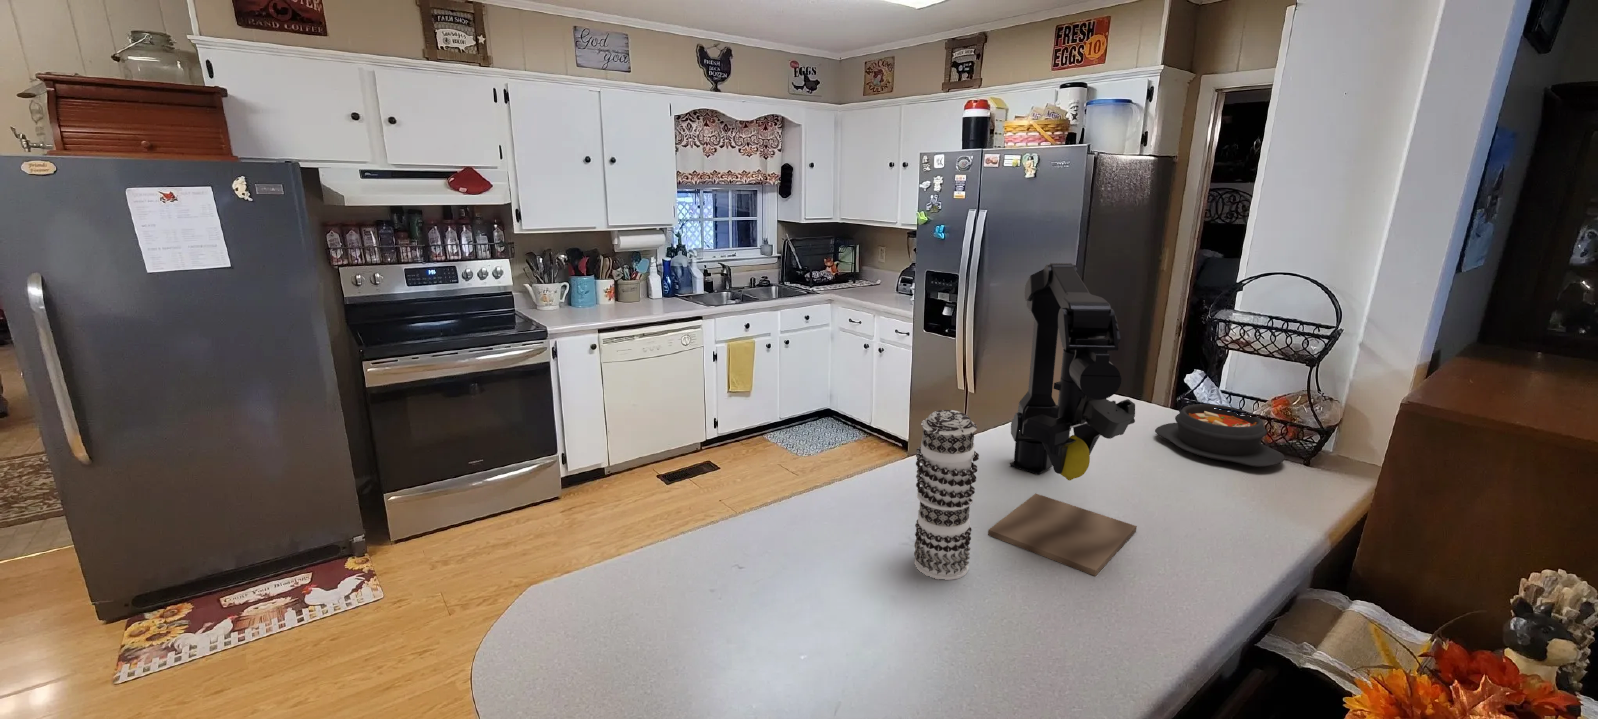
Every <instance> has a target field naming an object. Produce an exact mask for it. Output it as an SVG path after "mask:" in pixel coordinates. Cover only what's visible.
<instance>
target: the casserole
mask: <svg viewBox="0 0 1598 719" xmlns="http://www.w3.org/2000/svg"><path fill="white" fill-rule="evenodd" d="M1216 407H1218V408H1223V409H1231V410H1237V411H1241V412H1246V413H1248V414H1250V415H1253V414H1254V413H1253V412H1249V411H1246V410H1243V409H1240V408H1235V407H1232V406H1225V405H1220V404H1209V403H1208V404H1207V403H1199V404H1198V403H1197V404H1189V405H1186V406H1184V407H1182V409H1180V412H1178V414H1176V415H1175V417H1174V420H1175V422H1170V423H1165V424H1161V425H1159V426H1157V427H1156V428H1155V429H1154V432H1155V434H1156V435H1158V436H1159V437H1162V438H1163V439H1165V440H1168V441H1169V442H1171V443H1172V444H1174V445H1175V446H1176V447H1178V448H1180V449H1182V450H1184V451H1186V452H1189V453H1191V454H1194V455H1196V456H1200V457H1202V458H1206V459H1209V460H1210V459H1211V460H1214V461H1215V460H1216V461H1222V462H1233V463H1237V464H1241V465H1245V466H1248V467H1249V466H1250V467H1257V468H1258V467H1259V468H1263V467H1264V468H1265V467H1272V466H1276V465H1279V464H1281V463H1283V462H1284V461H1285V455H1284V454H1283V453H1282V452H1280V451H1278V450H1277V449H1274V448H1272V447H1270V446H1267V445H1265V444H1264V443H1262V442H1261V441H1262V439H1263V438H1264V437H1265V436H1267V433H1268V431H1267V429H1266V427H1265V426H1264V422H1263V420H1262V418H1261V417H1259V416H1258V417H1259V418H1258V417H1250V416H1240V415H1237V414H1236V413H1233V412H1227V411H1226V410H1219V409H1214V408H1216ZM1260 418H1261V419H1260ZM1261 443H1262V444H1261Z"/></svg>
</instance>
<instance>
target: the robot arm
mask: <svg viewBox="0 0 1598 719" xmlns="http://www.w3.org/2000/svg"><path fill="white" fill-rule="evenodd" d="M1024 286H1025V287H1024V299H1025V301H1026V308H1027V310H1028V312H1029V313H1030V315H1031V318H1032V319H1033V331H1032V332H1033V333H1032V342H1031V354H1030V366H1029V367H1030V368H1029V375H1028V376H1029V379H1028V388H1027V389H1028V391H1027V392H1026V393H1025V394H1024V396H1023V397H1022V398H1021V399H1020V401H1018V408H1017V412H1015V414H1014V416H1013V417H1012V420H1011V422H1010V434H1011V437H1012V439H1013V441H1014V442H1015V444H1014V457H1013V461H1011V462H1010V463H1009V466H1010V467H1013V468H1016V469H1019V470H1023V471H1025V472H1029V473H1033V474H1035V475H1042V473H1044V472H1046V471H1047V470H1049V469H1050V468H1051V467H1052V468H1053V471H1054V473H1056V474H1058V475H1061V473H1062V471H1063V467H1064V463H1065V458H1066V453H1067V448H1068V446H1069V445H1071V444H1072V443H1074V442H1075V441H1076V440H1074V439H1072V438H1069V436H1071V435H1070V434H1071V431H1072V430H1073V435H1075V436H1077V437H1078V438H1080V439H1082V440H1083V441H1084V442H1085V443H1086V444H1087V446H1088V449H1089V454H1090V455H1091V454H1092V451H1093V450H1094V447H1095V446H1096V443H1097V442H1098V440H1099V439H1100V437H1103V438H1104V439H1108V440H1109V439H1110V440H1111V439H1114V438H1115V437H1117V436H1122V435H1124V433H1125V432H1126V430H1127V429H1128V426H1129V425H1134V423H1135V422H1136V419H1135V416H1136V403H1135V402H1133V401H1132V400H1131V399H1127V398H1126V399H1124V400H1121V401H1119V402H1117V401H1116V400H1112V401H1111V400H1109V398H1111V397H1112V396H1114V395H1115V394H1116V393H1117V392H1118V391H1119V389H1120V387H1121V384H1122V376H1121V373H1120V371H1119V368H1118V367H1117V366H1115V365H1114V364H1113V363H1112V362H1111V361H1110V357H1111V355H1110V354H1109V351H1110V352H1118V351H1119V344H1120V342H1121V340H1122V339H1121V334H1120V330H1119V324H1118V323H1119V322H1118V319H1117V316H1116V314H1115V310H1114V308H1112V306H1111V304H1110V303H1109V302H1108V301H1107V300H1106V299H1105V298H1103V297H1101V296H1098V295H1095V294H1091V293H1090V292H1089V289H1088V288H1087V286H1086V284H1085V283H1084V282H1083V280H1082V279H1081V276H1079V274H1078V267H1077V265H1076V264H1073V263H1071V262H1069V263H1067V262H1066V263H1065V262H1050V263H1048V264H1045V266H1044V268H1043V269H1041V270H1039V271H1037V272H1034V273H1033V274H1031V275H1029V277H1028V279H1027V281H1026V283H1025V285H1024ZM1058 333H1059V334H1058ZM1058 335H1059V336H1058ZM1058 337H1060V338H1059V339H1060V342H1061V346H1062V348H1063V350H1062V358H1061V368H1060V377H1059V378H1060V380H1059V381H1055V382H1054V379H1055V378H1054V376H1055V368H1056V367H1055V366H1056V365H1055V364H1056V355H1057V344H1058ZM1106 338H1107V339H1106ZM1053 389H1054V390H1056V391H1058V399H1057V404H1056V402H1055V400H1054V398H1053Z"/></svg>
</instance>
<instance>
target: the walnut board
mask: <svg viewBox="0 0 1598 719" xmlns="http://www.w3.org/2000/svg"><path fill="white" fill-rule="evenodd" d="M1137 526H1138V525H1135V524H1132V523H1128V522H1126V521H1122V520H1120V519H1116V518H1113V517H1109V516H1106V515H1103V514H1101V513H1098V512H1095V511H1092V510H1088V509H1085V508H1082V507H1079V506H1076V505H1073V504H1071V503H1070V504H1069V503H1067V502H1064V501H1060V500H1057V499H1054V498H1051V497H1049V496H1045V495H1042V494H1038V493H1035V494H1033V495H1032V496H1030V497H1029V498H1028V499H1027V500H1025V501H1024V502H1023V503H1021V504H1019V505H1018V506H1017V507H1016V508H1015V509H1014V510H1012V511H1010V513H1008V514H1007V515H1005V516H1004V517H1003V518H1002V519H1001V520H999V521H998V522H996V523H995V524H994V525H993V526H991V527H990V528H988V530H987V536H990V537H992V538H995V539H997V540H1000V541H1002V542H1005V543H1007V544H1010V545H1013V546H1015V547H1018V548H1020V549H1024V550H1026V551H1028V552H1031V553H1034V554H1036V555H1039V556H1041V557H1045V558H1047V559H1049V560H1053V561H1054V562H1058V563H1060V564H1062V565H1065V566H1067V567H1070V568H1073V569H1075V570H1078V571H1081V572H1083V573H1086V574H1089V575H1091V576H1094V577H1096V576H1097V575H1098V574H1099V573H1100V572H1101V571H1102V569H1103V568H1104V567H1105V566H1107V564H1108V563H1109V562H1110V561H1111V559H1113V558H1114V557H1115V555H1116V554H1117V553H1118V552H1119V551H1120V550H1121V549H1122V547H1123V546H1124V545H1125V544H1127V542H1128V541H1129V540H1130V539H1131V538H1132V537H1133V536H1134V534H1135V533H1136V532H1137Z"/></svg>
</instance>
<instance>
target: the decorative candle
mask: <svg viewBox="0 0 1598 719" xmlns="http://www.w3.org/2000/svg"><path fill="white" fill-rule="evenodd" d="M920 425H921V427H922V438H921V444H920V446H919V447H917V448H916V453H915V457H916V461H915V466H916V467H917V470H916V476H915V478H916V479H917V480H916V484H915V487H916V488H917V493H916V494H917V495H916V497H917V499H918V501H919V509H918V511H917V512H918V515H917V520H916V522H915V529H916V530H915V531H916V532H915V534H914V536H915V538H916V539H915V541H914V543H913V544H914V546H913V547H914V549H915V550H914V553H913V555H914V564H915V565H916V566H915V565H914V566H915V568H916V567H917V568H916V569H918V570H919V571H920V573H921V572H922V573H924V574H925V575H926V577H928V576H931V577H933V578H932V579H934V578H935V580H939V579H945V580H944V581H952V580H958V579H960V578H962V577H965V575H967V573H968V572H969V571H970V570H969V564H970V562H969V560H970V559H971V557H970V552H969V551H971V547H970V546H969V545H970V544H971V540H972V537H971V534H972V533H971V532H972V530H973V529H972V527H971V525H970V523H971V516H970V506H971V504H972V503H973V502H974V497H973V495H974V494H975V493H976V492H975V490H976V489H975V487H974V486H973V483H976V482H977V476H976V475H975V473H977V472H978V465H976V464H975V463H974V462H976V461H978V460H980V454H979V453H978V452H977V451H976V450H975V443H974V441H975V440H974V439H975V432H976V431H977V430H978V425H977V424H976V423H975V422H973V421H972V420H971V418H970V417H969V415H967V414H966V413H963V412H961V411H958V410H953V409H951V410H950V409H940V410H935V411H933V412H932V413H930V414H929V415H928V416H927V417H926V418H925V419H923V420H922V421H921V424H920ZM972 461H973V462H972ZM921 464H922V465H921ZM918 570H917V571H918ZM919 571H918V572H919ZM922 573H921V574H922ZM924 574H923V575H924ZM925 575H924V576H925ZM931 577H930V578H931Z"/></svg>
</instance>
